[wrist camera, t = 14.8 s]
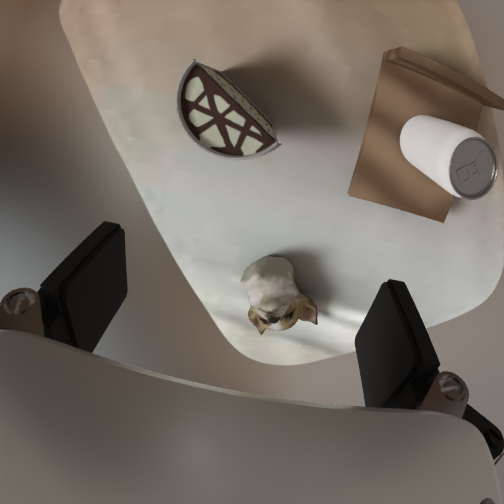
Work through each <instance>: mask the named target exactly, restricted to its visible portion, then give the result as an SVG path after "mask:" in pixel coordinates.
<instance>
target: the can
mask: <svg viewBox="0 0 504 504" xmlns="http://www.w3.org/2000/svg"><path fill="white" fill-rule="evenodd" d="M400 147H401V150H402V153H403V155H404V157H405V158H406V159H407V160H408V161H409V162H410V163H411V164H412V165H413V166H415V167H416V168H417V169H419V170H420V171H421V172H423V173H424V174H425V175H427V176H428V177H429V178H431V179H432V180H433V181H435V182H436V183H437V184H438V185H440V186H441V187H442V188H444V189H445V190H446V191H448V192H449V193H450V194H452V195H454V196H457V197H461V198H465V199H468V200H475V199H479V198H481V197H483V196H484V195H486V194H487V193H488V192H489V191H490V190H491V188H492V187H493V185H494V183H495V181H496V178H497V174H498V159H497V155H496V152H495V150H494V148H493V147H492V146H491V144H490V143H489V142H488V141H486V140H485V138H484V137H483V136H482V135H480V134H479V133H478V132H476V131H474V130H471V129H469V128H466V127H464V126H461V125H458V124H455V123H452V122H449V121H446V120H442V119H439V118H436V117H432V116H428V115H418V116H415V117H413V118H411V119H410V120H408V121H407V122H406V124H405V125H404V127H403V129H402V131H401V135H400Z"/></svg>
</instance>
